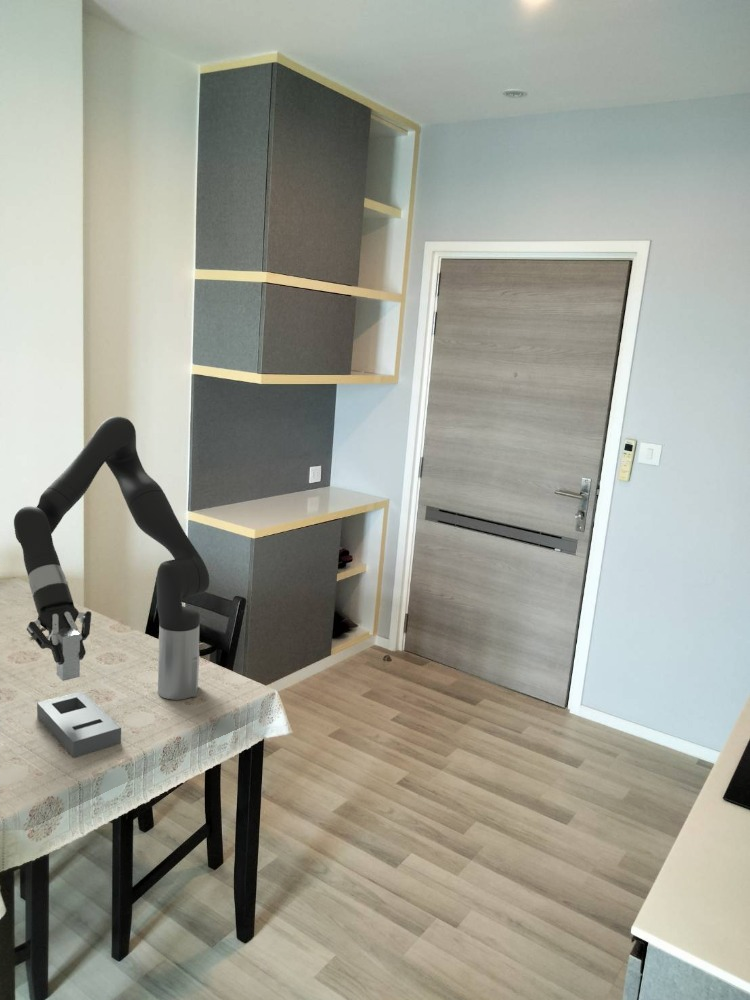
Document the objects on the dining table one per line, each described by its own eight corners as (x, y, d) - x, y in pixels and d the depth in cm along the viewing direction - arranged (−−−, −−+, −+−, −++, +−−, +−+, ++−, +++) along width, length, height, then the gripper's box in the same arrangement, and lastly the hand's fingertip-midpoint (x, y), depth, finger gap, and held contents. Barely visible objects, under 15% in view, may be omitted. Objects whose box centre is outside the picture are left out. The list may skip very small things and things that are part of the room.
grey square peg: (56, 674, 164) (56, 631, 162) (73, 670, 166) (73, 628, 164) (62, 680, 162) (62, 637, 159) (79, 676, 164) (79, 633, 162)
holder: (37, 717, 166) (37, 702, 165) (82, 705, 173) (82, 690, 172) (73, 757, 152) (73, 741, 151) (120, 742, 159) (121, 727, 158)
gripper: (77, 592, 175) (98, 660, 169) (12, 603, 165) (32, 675, 159) (86, 577, 170) (109, 646, 164) (20, 587, 161) (41, 661, 154)
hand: (71, 660), depth 162 cm, fingers closed on grey square peg, 3 cm apart
